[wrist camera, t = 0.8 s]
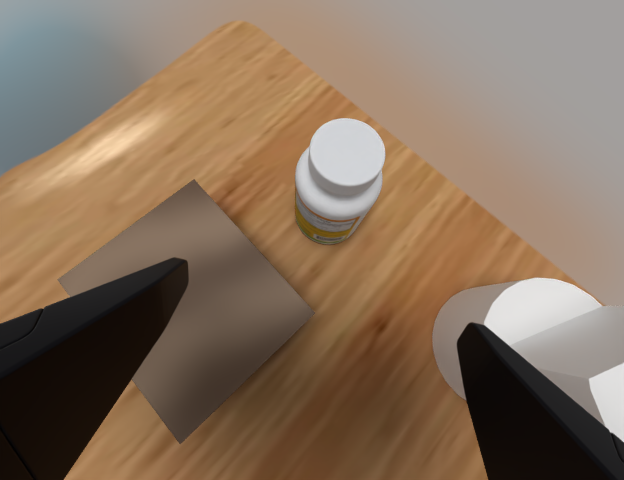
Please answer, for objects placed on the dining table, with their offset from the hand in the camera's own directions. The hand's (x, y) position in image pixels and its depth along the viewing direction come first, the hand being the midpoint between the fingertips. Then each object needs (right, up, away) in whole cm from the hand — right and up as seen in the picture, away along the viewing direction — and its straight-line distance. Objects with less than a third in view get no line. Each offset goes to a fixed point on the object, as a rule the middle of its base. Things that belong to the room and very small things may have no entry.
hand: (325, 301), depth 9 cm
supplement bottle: (+1, +4, +15) cm, 16 cm away
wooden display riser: (-8, -3, +13) cm, 15 cm away
